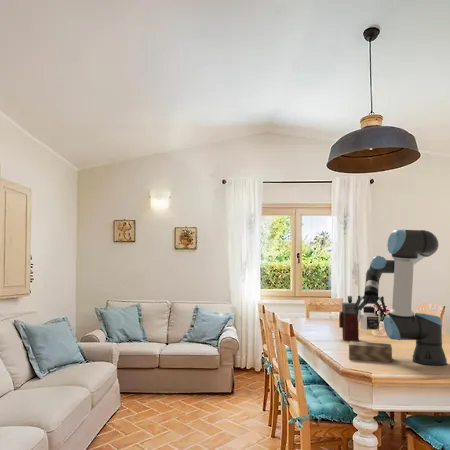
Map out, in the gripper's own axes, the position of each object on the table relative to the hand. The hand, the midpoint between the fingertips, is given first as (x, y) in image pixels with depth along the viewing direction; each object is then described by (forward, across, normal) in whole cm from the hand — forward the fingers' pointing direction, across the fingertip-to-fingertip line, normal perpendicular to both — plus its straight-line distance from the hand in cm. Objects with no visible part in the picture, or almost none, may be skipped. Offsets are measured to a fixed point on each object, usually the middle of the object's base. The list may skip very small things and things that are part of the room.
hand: (368, 321), depth 228 cm
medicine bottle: (+1, 0, -6) cm, 6 cm away
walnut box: (+19, -1, -6) cm, 20 cm away
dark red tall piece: (-23, +19, -48) cm, 56 cm away
